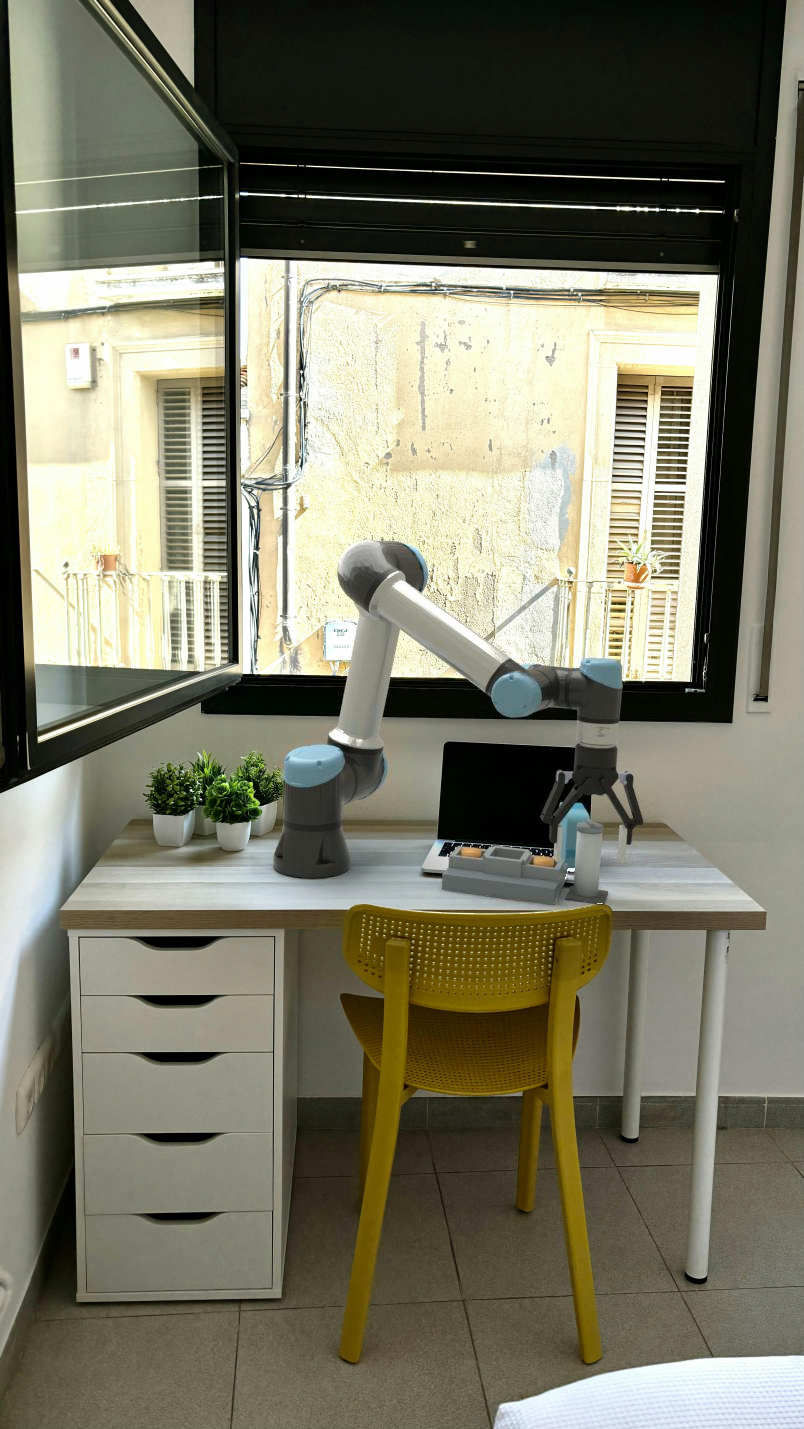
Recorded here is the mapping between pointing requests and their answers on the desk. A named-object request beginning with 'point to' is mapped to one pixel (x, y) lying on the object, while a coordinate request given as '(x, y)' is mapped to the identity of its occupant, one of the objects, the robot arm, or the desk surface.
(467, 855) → the plunger left
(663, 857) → the desk surface
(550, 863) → the plunger right
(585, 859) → the cylinder
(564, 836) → the data package
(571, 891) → the mat
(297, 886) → the desk surface
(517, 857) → the housing
